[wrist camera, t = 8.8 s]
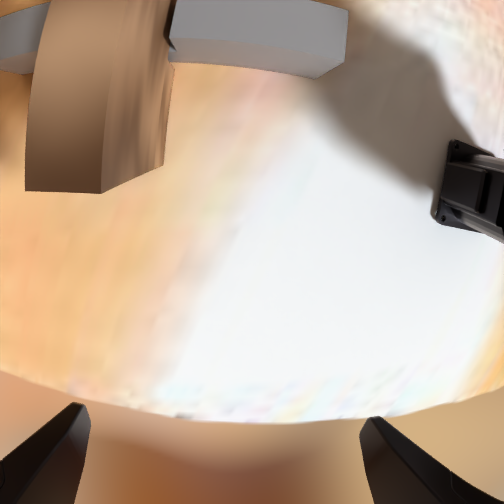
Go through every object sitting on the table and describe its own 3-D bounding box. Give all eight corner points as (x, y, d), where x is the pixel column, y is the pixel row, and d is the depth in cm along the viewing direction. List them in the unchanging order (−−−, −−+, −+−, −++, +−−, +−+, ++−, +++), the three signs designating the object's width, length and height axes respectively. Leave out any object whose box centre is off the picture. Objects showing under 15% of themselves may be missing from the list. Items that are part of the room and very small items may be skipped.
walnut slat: (163, 165, 18) (100, 193, 8) (117, 162, 17) (25, 191, 8) (201, -54, 12) (191, -149, 3) (158, -53, 12) (125, -140, 3)
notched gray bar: (320, 37, 16) (348, 10, 11) (315, 79, 17) (344, 62, 12) (30, 36, 13) (-10, 21, 9) (22, 74, 14) (-21, 66, 10)
